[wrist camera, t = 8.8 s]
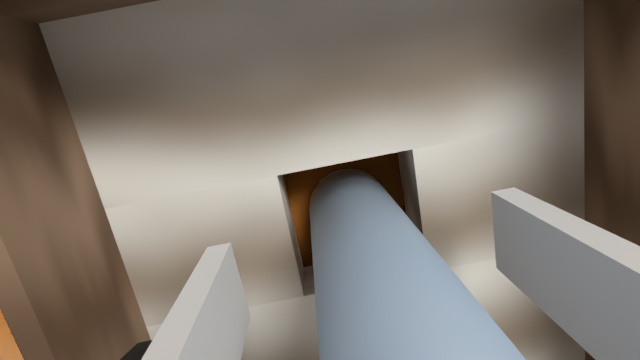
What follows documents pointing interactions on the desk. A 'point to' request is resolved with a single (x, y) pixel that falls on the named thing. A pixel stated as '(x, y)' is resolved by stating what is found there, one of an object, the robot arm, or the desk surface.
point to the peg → (388, 283)
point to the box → (292, 149)
